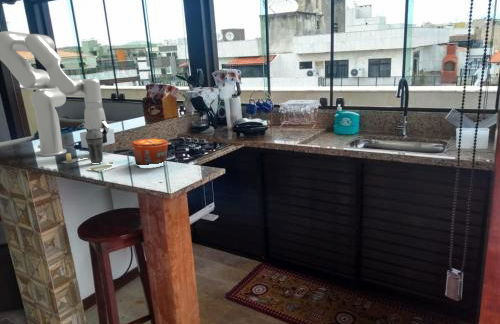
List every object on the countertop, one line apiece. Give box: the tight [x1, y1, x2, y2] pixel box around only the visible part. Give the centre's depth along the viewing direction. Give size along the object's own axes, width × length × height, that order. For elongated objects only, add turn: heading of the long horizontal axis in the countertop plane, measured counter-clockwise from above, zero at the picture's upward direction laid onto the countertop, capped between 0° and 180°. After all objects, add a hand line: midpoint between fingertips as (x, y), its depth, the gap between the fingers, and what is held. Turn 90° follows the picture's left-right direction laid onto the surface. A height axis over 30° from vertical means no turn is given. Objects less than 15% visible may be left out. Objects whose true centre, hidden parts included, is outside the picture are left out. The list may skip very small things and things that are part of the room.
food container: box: [130, 137, 170, 165], centre depth 160 cm, size 16×16×11 cm
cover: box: [79, 128, 116, 149], centre depth 177 cm, size 7×14×7 cm, turn 154°
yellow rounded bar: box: [60, 152, 86, 165], centre depth 168 cm, size 5×12×4 cm, turn 153°
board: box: [86, 160, 114, 171], centre depth 158 cm, size 8×18×1 cm, turn 153°
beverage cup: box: [85, 119, 104, 164], centre depth 161 cm, size 7×7×20 cm
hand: (98, 142), depth 178 cm, fingers closed on cover, 7 cm apart
